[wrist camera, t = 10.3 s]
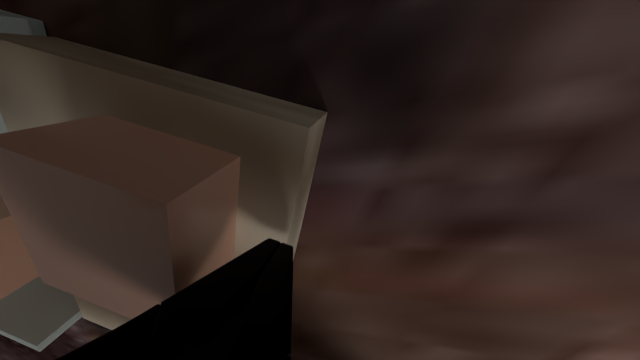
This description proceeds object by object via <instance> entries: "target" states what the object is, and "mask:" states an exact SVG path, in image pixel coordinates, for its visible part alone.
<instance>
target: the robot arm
mask: <svg viewBox="0 0 640 360" xmlns="http://www.w3.org/2000/svg"><path fill="white" fill-rule="evenodd" d="M292 286H293V246H291V245H289V244H286V243H280V241H277V240H274V239H271V238H268V239H266V240H265V241H263V242H261V243H260V244H258V245H256V246H255V247H253V248H251V249H249V250H248V251H246V252H244V253H243V254H241V255H239V256H238V257H236V258H234V259H233V260H231V261H229V262H228V263H226V264H224V265H223V266H221V267H219V268H218V269H216V270H214V271H212V272H211V273H209V274H207V275H206V276H204V277H202V278H201V279H199V280H197V281H196V282H194V283H192V284H191V285H189V286H187V287H186V288H184V289H182V290H181V291H179V292H177V293H175V294H174V295H172V296H170V297H169V298H167V299H165V300H164V301H162V302H161V304H157V305H155V306H153V307H152V308H150V309H148V310H147V311H145V312H143V313H142V314H140V315H138V316H136V317H135V318H133V319H131V320H129V321H128V322H126V323H124V324H122V325H120V326H119V327H117V328H115V329H113V330H111V331H109V332H108V333H106V334H104V335H102V336H100V337H98V338H96V339H94V340H92V341H90V342H88V343H86V344H85V345H83V346H81V347H79V348H77V349H75V350H73V351H71V352H69V353H67V354H65V355H63V356H61V357H59V358H57V359H55V360H291V357H290V355H291V328H292Z"/></svg>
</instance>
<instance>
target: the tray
mask: <svg viewBox="0 0 640 360" xmlns="http://www.w3.org/2000/svg"><path fill="white" fill-rule="evenodd" d="M0 33H9V34H21V35H34V36H46V37H47V35H46V31H45V28H44V24H43V21H41V20H37V19H34V18H30V17H26V16H23V15H19V14H15V13H11V12H8V11H4V10H0ZM7 132H8V130H7V128H6V125H5V123H4V120H3V118H2V115H1V113H0V134H1V133H7ZM81 317H82V314H81V312H80V309H79V307H78V304H77V302H76V299H75V297H74V295H72V294H69V293H67V292H64V291H62V290H60V289H57V288H55V287H52V286H50V285H47V284H45V283H43V282H42V280H41V278H40V276H38V277H37V278H35V279H33V280H32V281H30V282H29V283H27V284H25V285H24V286H22V287H20V288H19V289H17V290H16V291H14V292H12V293H11V294H9V295H7V296H6V297H4V298H3V299H1V300H0V334H1V335H4V336H6V337H8V338H10V339H13V340H15V341H17V342H19V343H22V344H24V345H26V346H28V347H30V348H33V349H35V350H37V351H39V352H41V351H42V350H43V349H44V348H45V347H46V346H48V345H49V344H50V343H51V342H52V341H54V340H55V339H56V338H57V337H58V336H60V335H61V334H62V333H63V332H64V331H66V330H67V329H68V328H69V327H70V326H71V325H73V324H74V323H75V322H76V321H77V320H79V319H80V318H81Z"/></svg>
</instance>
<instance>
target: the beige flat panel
mask: <svg viewBox="0 0 640 360" xmlns="http://www.w3.org/2000/svg"><path fill="white" fill-rule="evenodd" d="M0 113H1V115H2V118H3V120H4V123H5V125H6V128H7V130H8V132H12V131H18V130H23V129H29V128H34V127H40V126H45V125H51V124H56V123H62V122H67V121H72V120H78V119H83V118H89V117H94V116H100V115H108V116H112V117H115V118H118V119H121V120H124V121H128V122H131V123H134V124H137V125H141V126H144V127H147V128H150V129H154V130H157V131H160V132H163V133H167V134H170V135H173V136H176V137H180V138H183V139H186V140H189V141H192V142H196V143H199V144H202V145H205V146H209V147H212V148H215V149H218V150H222V151H225V152H228V153H231V154H235V155H238V156H241V157H240V172H239V187H238V202H237V217H236V232H235V246H234V258H236V257H238V256H239V255H241V254H243V253H244V252H246V251H248V250H249V249H251V248H253V247H255V246H256V245H258V244H260V243H261V242H263V241H265V240H266V239H268V238H271V239H274V240H277V241H280V243H286V244H289V245H291V246H293V261H294V256H295V252H296V248H297V243H298V239H299V235H300V230H301V226H302V221H303V217H304V213H305V208H306V204H307V200H308V195H309V191H310V187H311V182H312V178H313V174H314V169H315V165H316V161H317V156H318V152H319V147H320V143H321V139H322V134H323V130H324V126H325V121H326V117H327V113H328V112H325V111H321V110H317V109H314V108H310V107H307V106H303V105H299V104H296V103H292V102H289V101H285V100H281V99H278V98H274V97H270V96H267V95H263V94H260V93H256V92H252V91H249V90H245V89H241V88H238V87H234V86H231V85H227V84H223V83H220V82H216V81H212V80H209V79H205V78H202V77H198V76H194V75H191V74H187V73H184V72H180V71H176V70H173V69H169V68H165V67H162V66H158V65H155V64H151V63H147V62H144V61H140V60H136V59H133V58H129V57H126V56H122V55H118V54H115V53H111V52H107V51H104V50H100V49H97V48H93V47H89V46H86V45H82V44H79V43H75V42H71V41H68V40H64V39H60V38H57V37H46V36H34V35H21V34H9V33H0ZM74 297H75V299H76V302H77V304H78V307H79V309H80V312H81V314H82V317H83V318H84V319H87V320H89V321H92V322H94V323H96V324H99V325H101V326H104V327H106V328H108V329H111V330H113V329H115V328H117V327H119V326H120V325H122V324H124V323H126V322H128V321H129V320H131V318H128V317H126V316H123V315H121V314H118V313H116V312H113V311H111V310H109V309H106V308H104V307H101V306H99V305H96V304H94V303H91V302H89V301H86V300H84V299H82V298H79V297H77V296H74Z"/></svg>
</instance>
